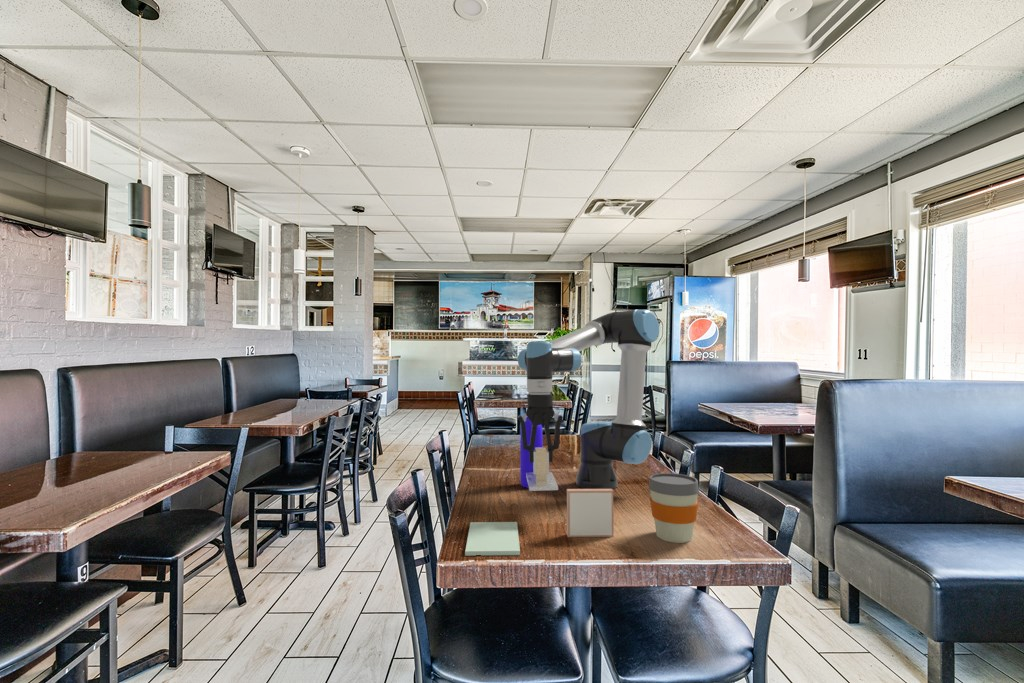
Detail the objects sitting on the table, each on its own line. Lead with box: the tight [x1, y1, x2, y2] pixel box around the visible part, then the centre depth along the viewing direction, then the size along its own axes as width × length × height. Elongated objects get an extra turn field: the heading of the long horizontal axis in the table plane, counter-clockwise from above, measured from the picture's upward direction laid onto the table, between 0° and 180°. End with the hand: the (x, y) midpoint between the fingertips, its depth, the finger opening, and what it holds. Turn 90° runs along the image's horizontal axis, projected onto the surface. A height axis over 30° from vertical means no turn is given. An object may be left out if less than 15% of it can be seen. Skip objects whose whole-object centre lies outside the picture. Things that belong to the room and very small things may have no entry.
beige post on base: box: [526, 446, 559, 492], centre depth 139 cm, size 16×8×10 cm, turn 1°
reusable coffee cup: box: [648, 472, 700, 544], centre depth 124 cm, size 13×13×15 cm
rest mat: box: [464, 521, 521, 557], centre depth 122 cm, size 20×13×1 cm, turn 1°
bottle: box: [519, 417, 544, 489], centre depth 174 cm, size 8×8×30 cm
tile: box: [566, 488, 615, 538], centre depth 124 cm, size 2×12×12 cm, turn 91°
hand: (541, 473), depth 139 cm, fingers closed on beige post on base, 3 cm apart
